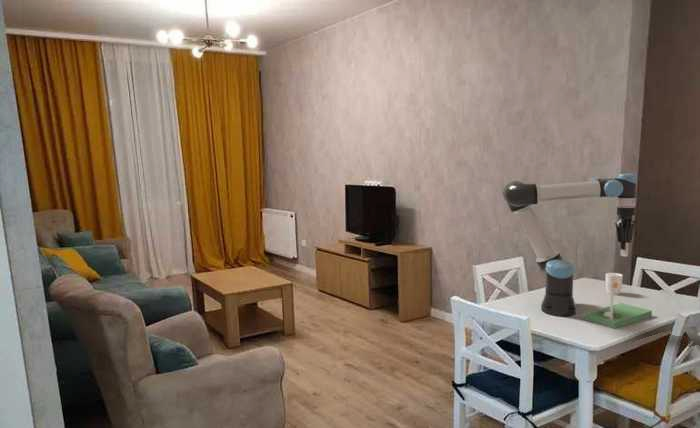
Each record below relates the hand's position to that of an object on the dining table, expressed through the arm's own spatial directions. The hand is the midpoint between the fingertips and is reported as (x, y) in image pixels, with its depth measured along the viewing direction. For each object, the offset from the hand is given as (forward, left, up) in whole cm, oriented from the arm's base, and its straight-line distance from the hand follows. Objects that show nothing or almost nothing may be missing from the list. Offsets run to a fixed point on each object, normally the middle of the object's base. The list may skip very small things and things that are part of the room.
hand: (624, 256), depth 224 cm
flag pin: (-10, -30, -22) cm, 39 cm away
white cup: (+1, +23, -25) cm, 34 cm away
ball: (-11, -24, -22) cm, 35 cm away
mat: (-6, -19, -24) cm, 32 cm away
